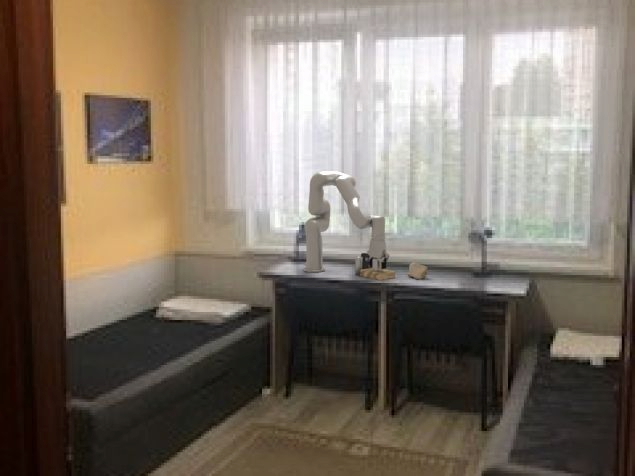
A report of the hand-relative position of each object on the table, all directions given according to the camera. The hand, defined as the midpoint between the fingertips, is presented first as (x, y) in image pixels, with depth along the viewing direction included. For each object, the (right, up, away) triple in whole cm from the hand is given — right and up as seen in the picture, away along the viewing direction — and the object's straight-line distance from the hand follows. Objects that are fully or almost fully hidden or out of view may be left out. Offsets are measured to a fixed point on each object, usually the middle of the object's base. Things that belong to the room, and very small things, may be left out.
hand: (377, 267), depth 388 cm
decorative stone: (+21, -6, -2) cm, 22 cm away
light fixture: (-1, -3, +21) cm, 22 cm away
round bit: (-10, -4, +9) cm, 14 cm away
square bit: (0, -5, +1) cm, 5 cm away
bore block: (0, -5, +1) cm, 5 cm away
